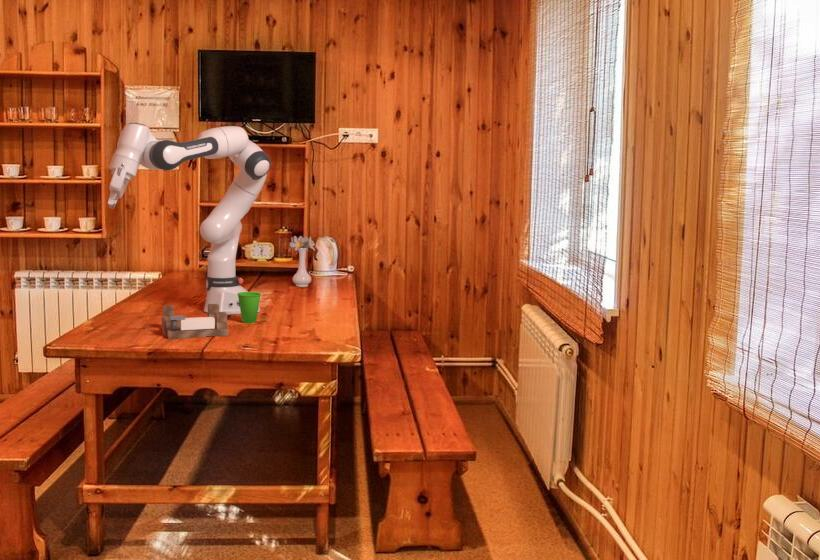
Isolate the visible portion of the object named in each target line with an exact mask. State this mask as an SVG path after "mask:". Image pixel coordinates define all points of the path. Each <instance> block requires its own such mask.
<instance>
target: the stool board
mask: <svg viewBox="0 0 820 560" xmlns="http://www.w3.org/2000/svg"><path fill="white" fill-rule="evenodd" d="M170 316H175V307H174V305H170V304H169V305H162V316H161V333H162V335H163V334H164V335H163V336H164V337H167V339H168V340H175V339H176V338H180V339H192V338H191V337H199V338H207V337H206V336H218V337H228V336H229V328H228V315H227V313H226V312H219V305H218V304H208V313H207V317H214V318H215V329H196V330H181V329H180V320H170ZM165 335H167V336H165Z"/></svg>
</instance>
